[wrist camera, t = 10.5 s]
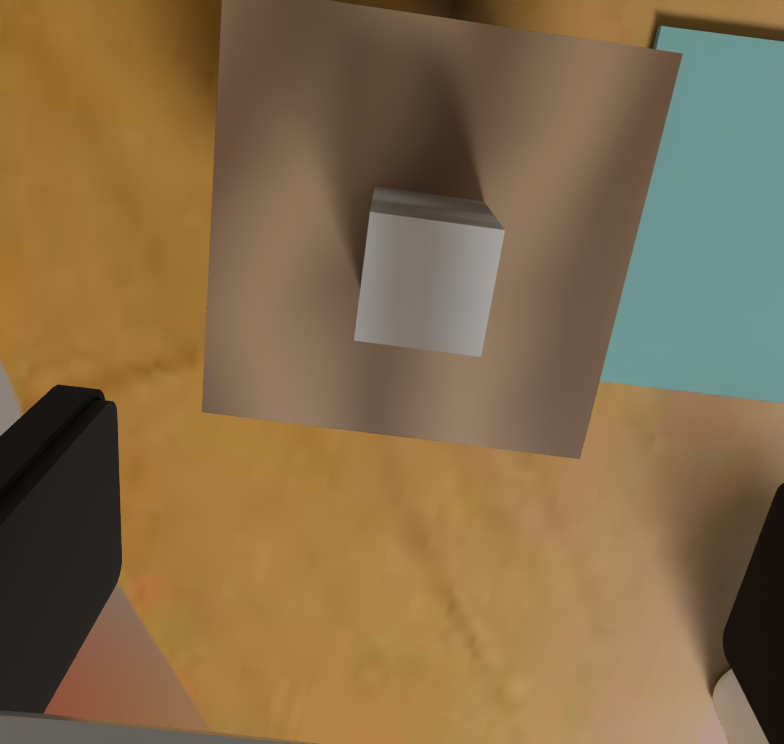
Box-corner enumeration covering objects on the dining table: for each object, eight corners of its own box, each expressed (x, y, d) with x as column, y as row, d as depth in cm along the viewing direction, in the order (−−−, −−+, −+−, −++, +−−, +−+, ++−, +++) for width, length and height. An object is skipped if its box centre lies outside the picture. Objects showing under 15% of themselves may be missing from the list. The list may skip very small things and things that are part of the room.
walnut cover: (673, 54, 24) (756, 47, 18) (574, 449, 29) (616, 534, 23) (228, -13, 23) (177, -41, 18) (207, 403, 28) (162, 480, 23)
